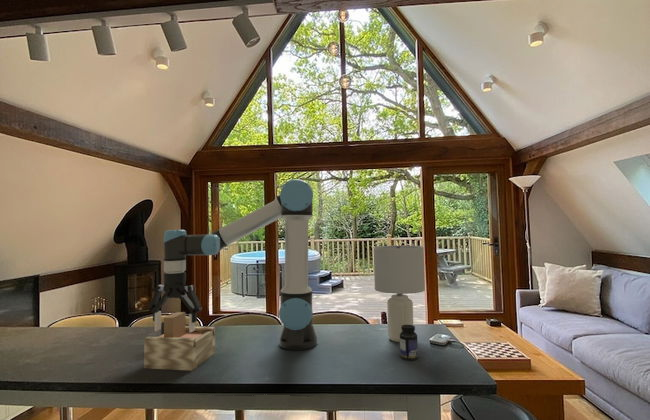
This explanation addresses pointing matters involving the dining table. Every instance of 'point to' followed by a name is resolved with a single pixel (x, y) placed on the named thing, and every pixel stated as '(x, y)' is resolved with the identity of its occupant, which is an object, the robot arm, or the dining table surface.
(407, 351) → the pill bottle
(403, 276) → the lamp
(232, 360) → the dining table surface
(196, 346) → the birch box
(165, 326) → the cover plate
